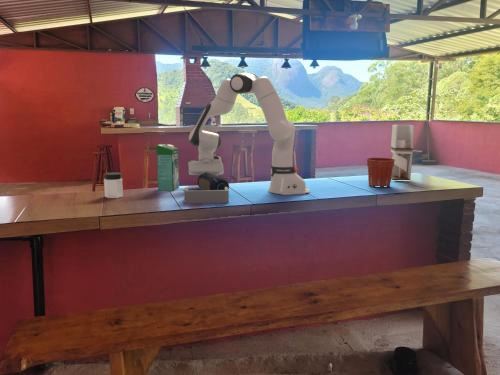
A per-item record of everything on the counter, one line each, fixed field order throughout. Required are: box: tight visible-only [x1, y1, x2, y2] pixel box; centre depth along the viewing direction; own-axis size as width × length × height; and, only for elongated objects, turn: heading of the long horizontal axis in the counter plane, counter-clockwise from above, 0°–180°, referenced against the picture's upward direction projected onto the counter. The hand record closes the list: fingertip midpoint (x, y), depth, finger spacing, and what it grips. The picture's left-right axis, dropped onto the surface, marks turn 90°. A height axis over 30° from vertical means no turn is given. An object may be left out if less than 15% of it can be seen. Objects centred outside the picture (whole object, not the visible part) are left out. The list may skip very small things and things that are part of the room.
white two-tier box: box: [390, 124, 415, 181], centre depth 270 cm, size 11×11×35 cm
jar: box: [103, 171, 124, 199], centre depth 217 cm, size 9×8×12 cm
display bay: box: [183, 186, 230, 204], centre depth 209 cm, size 21×10×6 cm, turn 96°
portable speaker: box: [197, 173, 230, 190], centre depth 229 cm, size 25×10×10 cm, turn 29°
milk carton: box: [156, 143, 180, 192], centre depth 237 cm, size 9×9×25 cm
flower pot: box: [365, 157, 395, 187], centre depth 252 cm, size 16×16×16 cm
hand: (206, 179), depth 242 cm, fingers closed
